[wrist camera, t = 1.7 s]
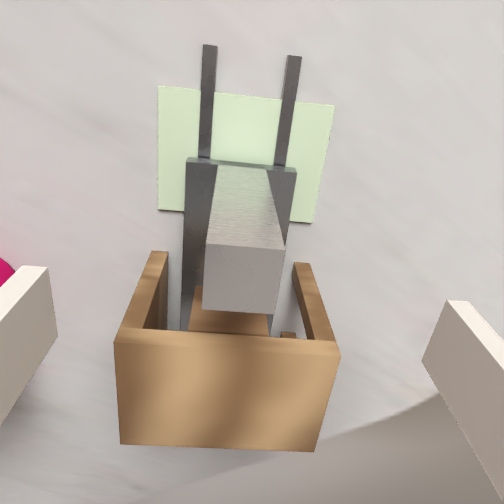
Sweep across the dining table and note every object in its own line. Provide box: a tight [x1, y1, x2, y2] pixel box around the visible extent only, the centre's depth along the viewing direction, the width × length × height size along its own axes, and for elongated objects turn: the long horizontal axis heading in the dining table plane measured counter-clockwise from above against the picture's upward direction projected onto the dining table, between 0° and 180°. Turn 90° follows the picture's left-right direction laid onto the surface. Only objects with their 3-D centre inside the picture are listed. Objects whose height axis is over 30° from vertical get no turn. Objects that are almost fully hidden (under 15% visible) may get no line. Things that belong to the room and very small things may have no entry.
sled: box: [180, 157, 297, 337], centre depth 24 cm, size 7×18×12 cm, turn 174°
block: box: [188, 286, 269, 337], centre depth 27 cm, size 5×5×5 cm
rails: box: [198, 44, 302, 167], centre depth 30 cm, size 6×32×1 cm, turn 174°
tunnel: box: [113, 251, 341, 452], centre depth 27 cm, size 12×8×10 cm, turn 84°
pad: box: [158, 85, 335, 223], centre depth 26 cm, size 11×8×1 cm
